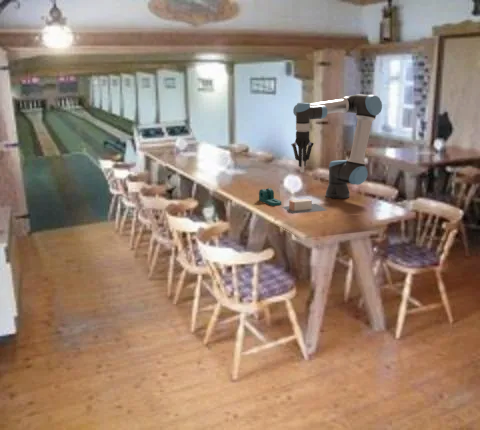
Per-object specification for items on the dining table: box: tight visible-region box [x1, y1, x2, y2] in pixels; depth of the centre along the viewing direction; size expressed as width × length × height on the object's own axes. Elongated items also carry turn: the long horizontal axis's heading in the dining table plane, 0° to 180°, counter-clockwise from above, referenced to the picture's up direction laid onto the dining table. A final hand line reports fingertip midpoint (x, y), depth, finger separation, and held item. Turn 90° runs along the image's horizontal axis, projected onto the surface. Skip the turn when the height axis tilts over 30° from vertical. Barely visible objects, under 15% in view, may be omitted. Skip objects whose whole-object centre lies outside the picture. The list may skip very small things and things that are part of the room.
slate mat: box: [282, 203, 327, 215], centre depth 305 cm, size 22×16×1 cm
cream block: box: [288, 198, 313, 211], centre depth 304 cm, size 5×5×12 cm
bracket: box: [258, 187, 282, 207], centre depth 320 cm, size 18×7×8 cm, turn 27°
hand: (302, 172), depth 299 cm, fingers closed
